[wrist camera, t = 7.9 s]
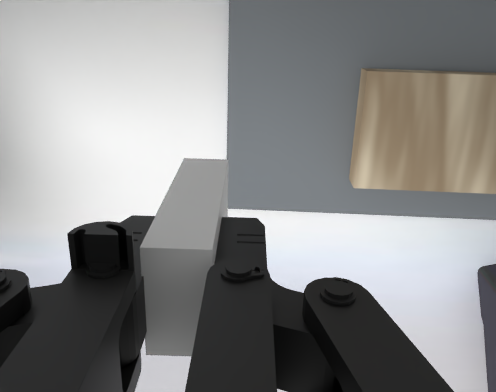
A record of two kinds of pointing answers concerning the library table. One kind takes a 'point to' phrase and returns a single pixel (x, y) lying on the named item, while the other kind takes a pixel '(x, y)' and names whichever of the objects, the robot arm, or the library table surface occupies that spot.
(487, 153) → the tile
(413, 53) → the mat
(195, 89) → the library table surface
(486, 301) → the black red flat box
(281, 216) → the library table surface
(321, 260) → the library table surface
